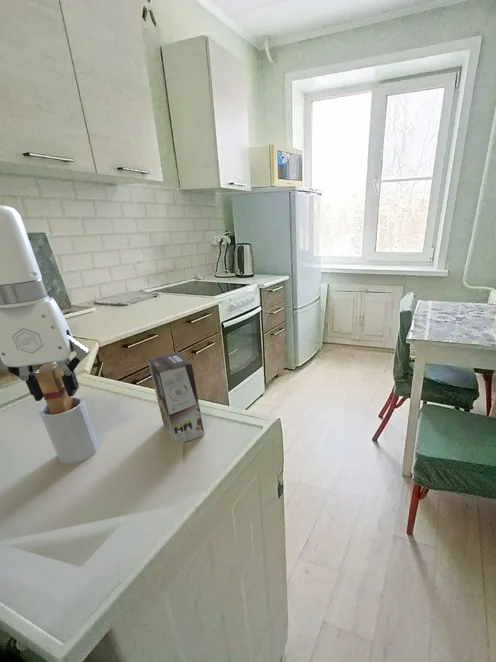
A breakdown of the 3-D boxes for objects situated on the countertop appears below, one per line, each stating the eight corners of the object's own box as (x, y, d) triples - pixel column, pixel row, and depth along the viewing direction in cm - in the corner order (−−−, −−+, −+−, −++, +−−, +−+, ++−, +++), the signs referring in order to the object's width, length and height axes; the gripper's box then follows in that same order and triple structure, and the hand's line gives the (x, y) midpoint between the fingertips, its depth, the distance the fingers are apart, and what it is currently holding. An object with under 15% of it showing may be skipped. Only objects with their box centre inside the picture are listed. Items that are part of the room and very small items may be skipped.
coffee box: (206, 435, 73) (193, 363, 66) (175, 446, 70) (158, 372, 63) (191, 416, 80) (178, 350, 73) (163, 426, 77) (146, 357, 70)
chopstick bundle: (68, 459, 67) (34, 373, 59) (75, 447, 71) (43, 364, 63) (83, 456, 68) (51, 371, 60) (89, 444, 71) (59, 362, 63)
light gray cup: (50, 463, 67) (29, 413, 62) (80, 441, 73) (62, 395, 68) (80, 468, 65) (60, 417, 61) (107, 446, 71) (91, 398, 67)
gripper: (-59, 304, 51) (-6, 413, 59) (69, 292, 54) (103, 397, 62) (-30, 293, 57) (14, 393, 65) (83, 284, 60) (111, 380, 68)
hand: (57, 394), depth 63 cm, fingers open, 4 cm apart
